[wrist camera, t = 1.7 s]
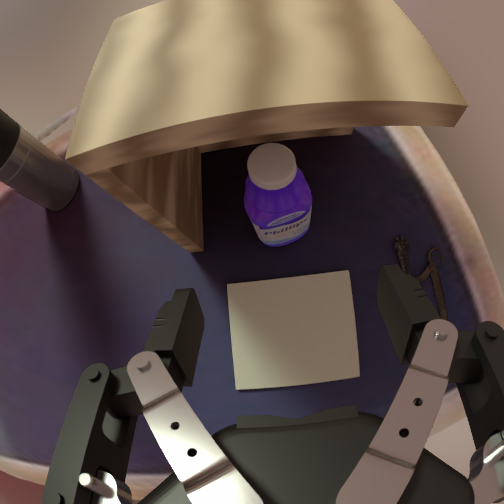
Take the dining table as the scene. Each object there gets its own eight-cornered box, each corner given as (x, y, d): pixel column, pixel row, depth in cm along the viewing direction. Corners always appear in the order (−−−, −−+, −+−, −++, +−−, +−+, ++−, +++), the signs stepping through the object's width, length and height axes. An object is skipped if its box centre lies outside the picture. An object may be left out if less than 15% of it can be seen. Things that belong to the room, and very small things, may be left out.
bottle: (264, 255, 40) (242, 206, 23) (249, 218, 42) (221, 151, 25) (314, 236, 40) (327, 174, 23) (298, 199, 41) (298, 123, 24)
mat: (236, 388, 36) (236, 389, 36) (227, 284, 40) (226, 284, 39) (359, 375, 35) (359, 376, 34) (348, 270, 38) (348, 270, 38)
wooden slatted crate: (190, 252, 42) (65, 159, 16) (189, 145, 46) (114, 19, 20) (376, 230, 39) (467, 105, 13) (348, 124, 43) (373, -20, 18)
